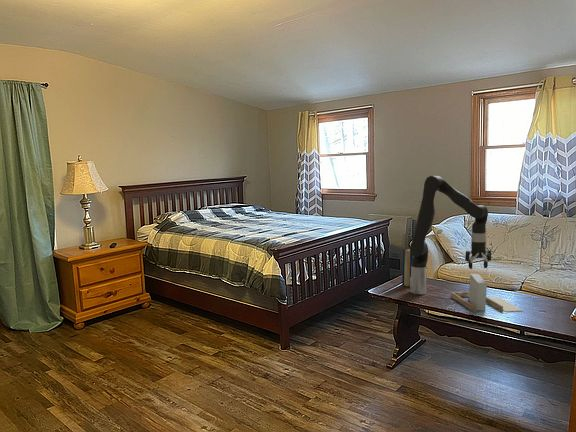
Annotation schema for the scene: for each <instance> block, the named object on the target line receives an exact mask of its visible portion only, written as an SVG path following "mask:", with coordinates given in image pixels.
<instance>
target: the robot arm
mask: <svg viewBox="0 0 576 432" xmlns="http://www.w3.org/2000/svg"><path fill="white" fill-rule="evenodd" d="M423 184H424V185H423V191H422V192H423V193H422V199H421V202H420V208H419V211H418V214H417V215H418V216H417V219H416V220H417V221H416V224H415V228H414V233H413V236H412V240H411V242H410V244H409V245H410V246H409V248H410V253H411V254H412V255H413V260H412V262H411V277H410V286H409V292H410V293H411V294H412V295H425V294H426V293H427V263H428V258H429V257H428V256H429V247H428V243H426V238H427V235H428V233H429V231H430V229H431V227H432V225H433V222H434V219H435V218H434V217H435V213H436V211H435V202H434V200H435V196H436V192H439V193H441V194H443V195H445V196H447V197H448V198H449V199H450V200H451V202H452V203H453V204H454V205H456V206H458V207H459V208H461V209H463V210H464V211H465V213H467V214H468V215H469V216H470V217H472V218H474V222H473V223H472V225H471V236H470V237H471V240H470V241H471V242H470V243H471V244H470V246H471V247H470V248H471V250H470V251H469V250H465V256H464V261H466V262H467V263H468V268H469V269H470V270H473V261H475V260H476V259H482V260H483V268H484V269H487V268H488V266H489V265H488V264H489V262H491V261H492V250H489V249H487V248H486V247H487V234H486V233H487V232H486V231H487V230H486V229H487V226H486V225H487V222H488V221H487V220H488V217H489V210H488V208H487V207H486V205H483V204H481V205H477V204H476V203H474V201H473V199H471V198H470V197H468V196H466V195H465V194H464V193H462V192H460V191H459V190H457V189H456V188H454V187H453V186H452V185H451V184H449V182H448V181H446V180H445V179H444V178H443V177H441V176H440V175H429V176H427V177H426V179H425V181H424V183H423ZM485 254H486V255H485Z"/></svg>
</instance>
